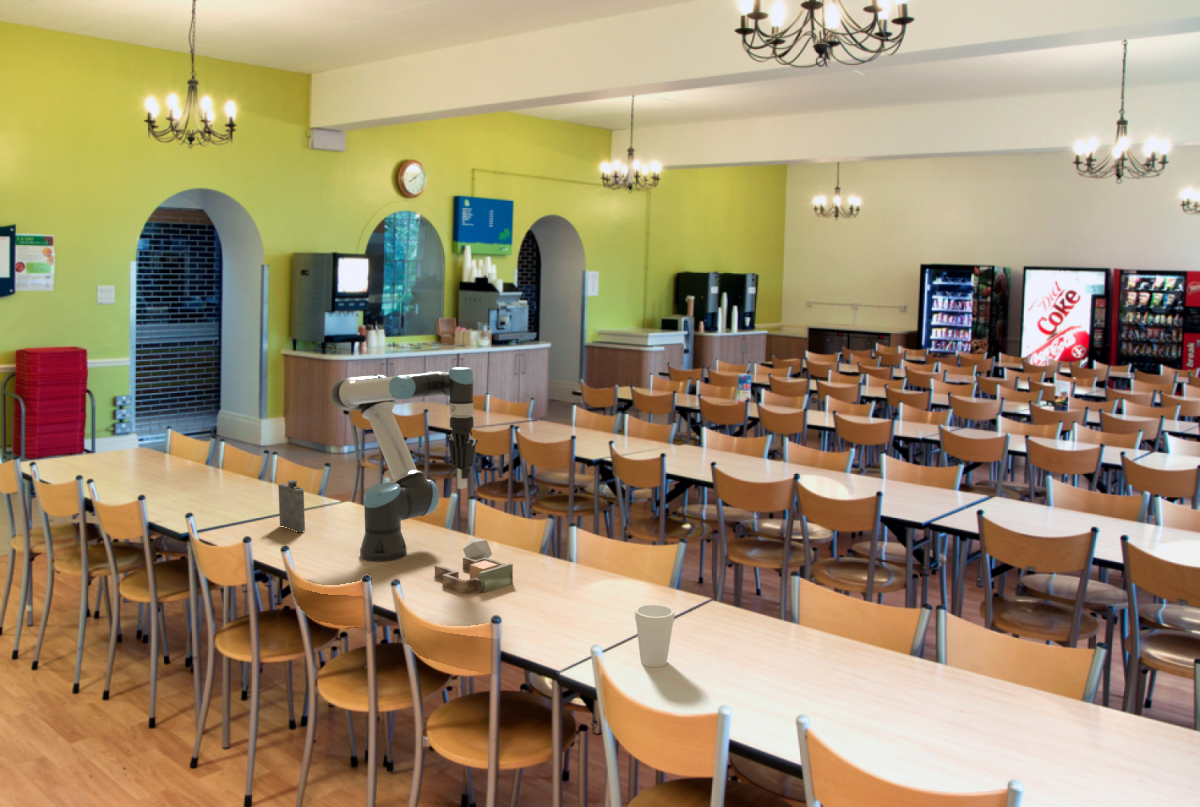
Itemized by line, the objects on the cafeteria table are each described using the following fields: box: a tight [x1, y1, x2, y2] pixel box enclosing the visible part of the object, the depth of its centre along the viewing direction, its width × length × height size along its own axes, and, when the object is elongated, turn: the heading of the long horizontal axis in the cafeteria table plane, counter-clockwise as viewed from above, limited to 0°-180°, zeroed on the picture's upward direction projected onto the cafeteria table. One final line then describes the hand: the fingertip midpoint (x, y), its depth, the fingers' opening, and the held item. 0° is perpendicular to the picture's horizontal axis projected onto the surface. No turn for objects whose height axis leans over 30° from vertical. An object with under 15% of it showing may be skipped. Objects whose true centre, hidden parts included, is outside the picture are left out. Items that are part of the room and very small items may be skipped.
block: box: [469, 561, 498, 579], centre depth 287 cm, size 6×6×6 cm
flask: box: [278, 479, 306, 533], centre depth 344 cm, size 4×14×18 cm, turn 49°
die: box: [462, 537, 493, 560], centre depth 307 cm, size 8×9×10 cm
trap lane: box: [434, 556, 514, 595], centre depth 290 cm, size 22×20×6 cm
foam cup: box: [634, 603, 675, 668], centre depth 230 cm, size 10×9×13 cm
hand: (462, 487), depth 306 cm, fingers closed
